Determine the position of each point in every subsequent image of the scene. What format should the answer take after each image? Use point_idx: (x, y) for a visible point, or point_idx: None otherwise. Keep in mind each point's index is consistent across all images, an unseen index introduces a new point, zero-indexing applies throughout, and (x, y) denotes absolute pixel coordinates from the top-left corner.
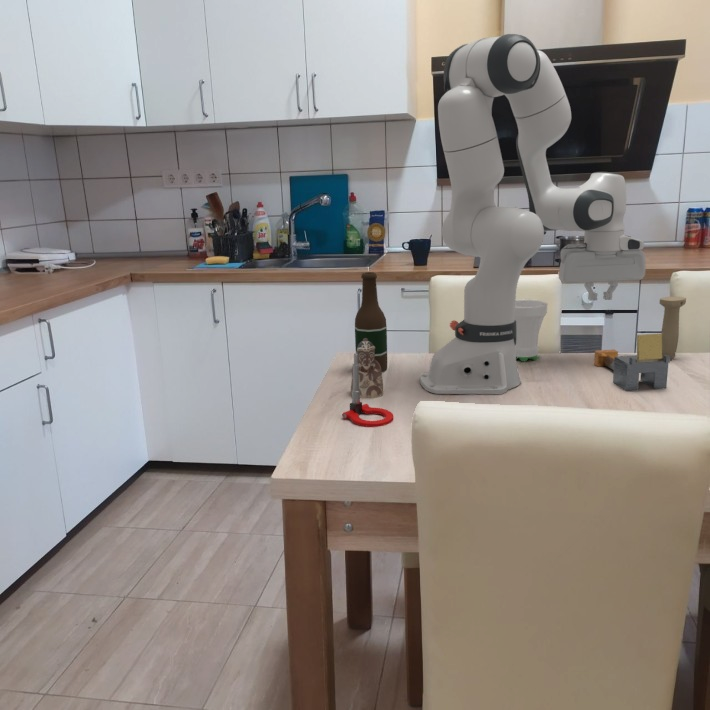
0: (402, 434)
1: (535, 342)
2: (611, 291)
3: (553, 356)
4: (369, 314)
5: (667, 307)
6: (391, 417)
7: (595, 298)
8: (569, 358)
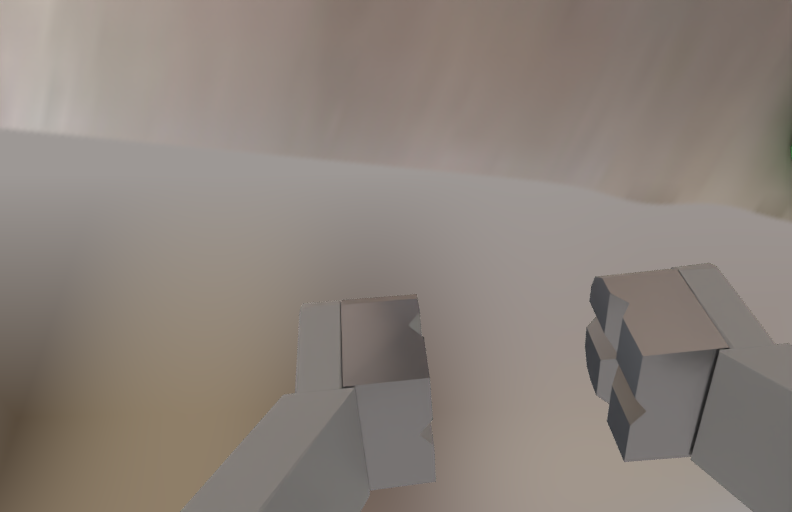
0: None
1: None
2: (323, 405)
3: (669, 130)
4: None
5: None
6: None
7: (643, 283)
8: (587, 65)
